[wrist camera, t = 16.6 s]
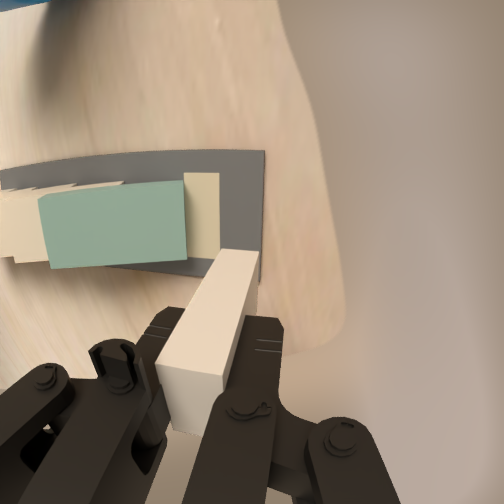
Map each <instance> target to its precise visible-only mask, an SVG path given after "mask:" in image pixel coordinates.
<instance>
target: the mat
mask: <svg viewBox="0 0 504 504" xmlns="http://www.w3.org/2000/svg"><path fill="white" fill-rule="evenodd" d="M264 155H265V150H223V149H207V150H165V151H146V152H130V153H118V154H107V155H97V156H87V157H79V158H71V159H64V160H57V161H50V162H43V163H37V164H31V165H26V166H20V167H15V168H10V169H5V170H1V171H0V181H1V190H7V189H16V188H17V190H21V189H27V188H32V187H38V189H41V188H48V187H54V186H60V185H67V184H74V183H77V186H83V185H91V184H99V183H108V182H118V181H124V184H135V183H147V182H160V181H176V180H183V184H184V211H185V232H186V248H187V260H173V261H159V262H146V263H131V264H117V265H103V266H106V267H115V268H123V269H132V270H141V271H151V272H160V273H170V274H180V275H190V276H200V277H205V275H206V274H207V272H208V270H209V269H210V267H211V265H212V264H213V262H214V260H215V259H216V257H217V255H218V254H219V252H220V250H221V249H235V250H247V251H259V272H258V282H260V268H261V242H262V215H263V186H264Z"/></svg>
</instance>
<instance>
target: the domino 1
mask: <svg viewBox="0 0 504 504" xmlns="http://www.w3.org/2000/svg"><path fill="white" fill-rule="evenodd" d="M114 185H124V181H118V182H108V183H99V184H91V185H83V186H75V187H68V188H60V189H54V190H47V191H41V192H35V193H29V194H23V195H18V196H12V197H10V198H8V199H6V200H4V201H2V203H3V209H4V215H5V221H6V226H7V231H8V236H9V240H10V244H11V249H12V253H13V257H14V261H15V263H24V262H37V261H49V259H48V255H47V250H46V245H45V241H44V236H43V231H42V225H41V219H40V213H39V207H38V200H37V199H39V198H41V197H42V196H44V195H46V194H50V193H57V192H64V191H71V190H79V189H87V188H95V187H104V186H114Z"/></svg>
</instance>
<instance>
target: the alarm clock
mask: <svg viewBox="0 0 504 504" xmlns="http://www.w3.org/2000/svg"><path fill="white" fill-rule="evenodd" d="M49 1H52V0H0V12H3V11H8V10H12V9H16V8H21V7H25V6H30V5H35V4H40V3H45V2H49Z"/></svg>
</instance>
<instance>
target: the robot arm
mask: <svg viewBox="0 0 504 504" xmlns="http://www.w3.org/2000/svg"><path fill="white" fill-rule="evenodd" d="M258 272H259V251H247V250H235V249H221V250H220V252H219V254H218V255H217V257H216V259H215V260H214V262H213V264H212V265H211V267H210V269H209V270H208V272H207V274H206V275H205V277H204V279H203V280H202V282H201V284H200V286H199V287H198V289H197V291H196V292H195V294H194V296H193V297H192V299H191V301H190V303H189V304H188V306H187V308H186V309H183V308H176V307H169V306H168V307H167V308H165V309H164V310H162V311H161V312H159V313H158V314H156V316H155V317H154V319H153V320H152V322H151V323H150V326H148V327H147V329H146V330H145V332H144V335H142V336H141V338H140V339H139V341H138V342H137V344H136V345H135V344H134V343H133V342H130V341H128V340H125V339H110V340H104V341H102V342H100V343H98V344H95V345H94V346H93V347H92V348H91V349H90V350H88V352H89V355H90V357H91V360H92V362H93V365H94V367H95V370H96V372H97V375H98V377H97V379H77V378H70V377H69V375H68V373H67V371H66V370H65V369H64V367H63V366H61V365H58V364H56V363H46V364H42V365H39V366H37V367H36V368H34V369H32V370H31V371H30V372H29V373H27V374H26V375H25V376H23V377H22V378H21V379H20V380H18V381H17V382H16V383H15V384H13V385H12V386H11V387H10V388H8V389H7V390H6V391H5V392H4V393H3V394H1V395H0V504H145V501H146V498H147V496H148V493H149V490H150V488H151V485H152V483H153V480H154V478H155V475H156V472H157V470H158V467H159V465H160V462H161V459H162V457H163V454H164V452H165V449H166V447H167V437H166V435H165V431H166V429H167V427H168V424H169V422H170V421H171V424H172V427H173V430H175V431H180V432H184V433H189V434H193V435H198V436H203V438H202V441H201V444H200V448H199V451H198V454H197V457H196V460H195V463H194V467H193V470H192V473H191V476H190V479H189V482H188V486H187V488H186V492H185V495H184V498H183V501H182V504H265V499H266V492H267V487H269V488H272V489H275V490H277V491H280V492H283V493H285V494H288V495H291V497H292V502H293V504H401V503H400V501H399V498H398V496H397V493H396V491H395V489H394V486H393V484H392V481H391V479H390V477H389V474H388V472H387V470H386V467H385V465H384V462H383V460H382V458H381V455H380V453H379V451H378V448H377V446H376V444H375V442H374V439H373V437H372V435H371V433H370V432H369V431H368V429H367V428H366V426H364V425H363V424H361V423H360V422H358V421H357V420H354V419H350V418H346V417H332V418H329V419H326V420H323V421H321V422H320V423H318V424H316V423H313V422H310V421H307V420H304V419H301V418H299V417H296V416H294V415H292V414H291V413H290V412H289V411H287V410H286V409H285V408H284V407H283V405H282V404H281V402H280V399H279V394H278V388H279V378H280V368H281V357H282V345H283V333H284V328H283V326H282V325H281V323H280V321H279V319H278V318H272V317H262V316H256V312H257V295H258ZM47 424H48V425H49V426H50V429H43V428H44V427H45V426H46V425H47Z"/></svg>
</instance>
